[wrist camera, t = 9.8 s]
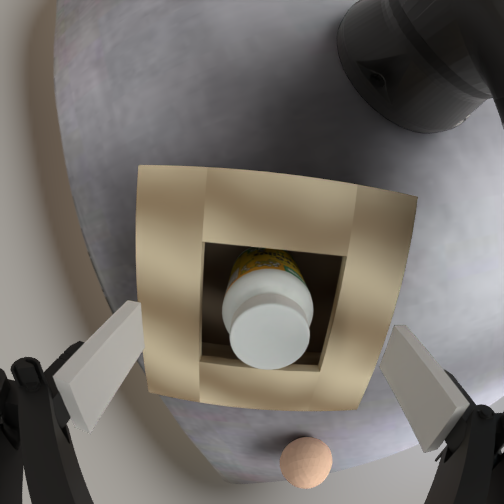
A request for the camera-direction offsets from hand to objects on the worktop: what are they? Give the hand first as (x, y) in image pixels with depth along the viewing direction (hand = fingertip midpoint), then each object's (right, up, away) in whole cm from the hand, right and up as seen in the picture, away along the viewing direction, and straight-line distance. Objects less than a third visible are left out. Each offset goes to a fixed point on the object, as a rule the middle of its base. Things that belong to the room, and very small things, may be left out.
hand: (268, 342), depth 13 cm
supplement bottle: (0, +3, +10) cm, 10 cm away
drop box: (0, +3, +11) cm, 12 cm away
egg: (+6, -21, +18) cm, 28 cm away
